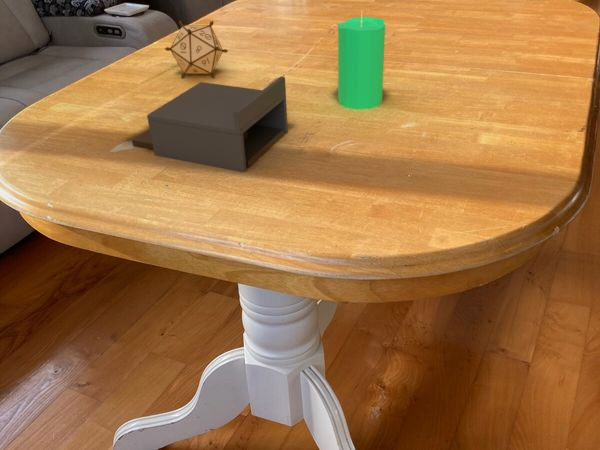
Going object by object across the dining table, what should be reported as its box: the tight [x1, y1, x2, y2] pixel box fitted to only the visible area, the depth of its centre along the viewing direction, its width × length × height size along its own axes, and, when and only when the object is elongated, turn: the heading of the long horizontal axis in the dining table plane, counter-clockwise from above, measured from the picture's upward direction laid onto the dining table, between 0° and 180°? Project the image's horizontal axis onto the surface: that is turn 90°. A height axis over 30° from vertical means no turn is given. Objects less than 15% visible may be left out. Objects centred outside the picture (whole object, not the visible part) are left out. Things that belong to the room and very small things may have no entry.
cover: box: [146, 76, 289, 173], centre depth 68 cm, size 12×11×7 cm
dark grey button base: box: [131, 125, 285, 169], centre depth 70 cm, size 16×9×2 cm, turn 66°
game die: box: [164, 20, 229, 79], centre depth 89 cm, size 9×8×10 cm
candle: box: [337, 10, 386, 110], centre depth 76 cm, size 6×6×12 cm
